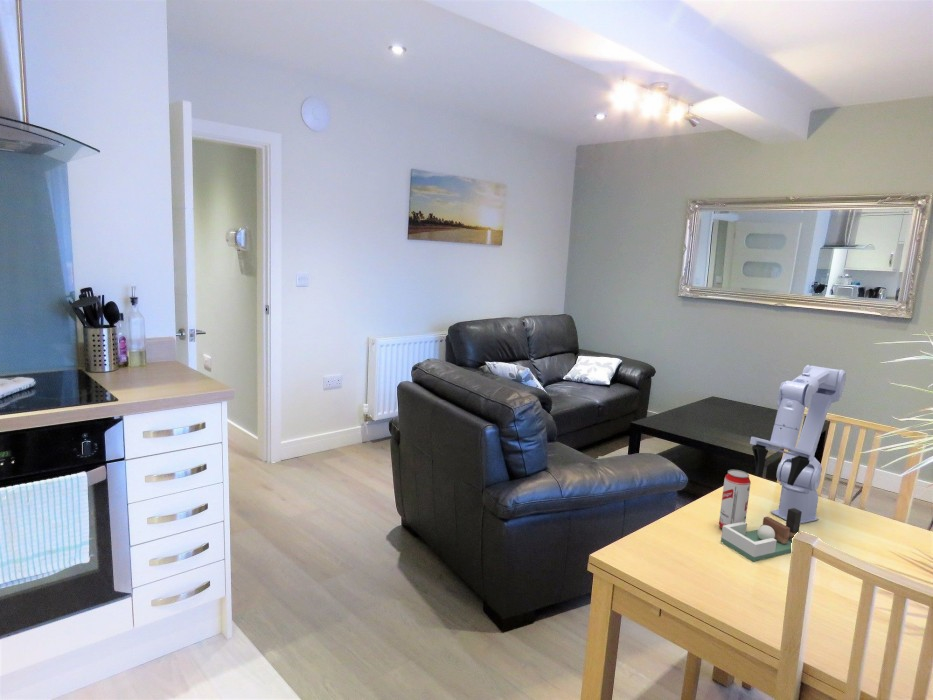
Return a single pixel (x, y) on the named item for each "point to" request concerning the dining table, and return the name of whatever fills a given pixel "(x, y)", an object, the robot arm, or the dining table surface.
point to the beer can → (734, 498)
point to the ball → (765, 532)
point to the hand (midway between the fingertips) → (773, 480)
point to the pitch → (752, 543)
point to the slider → (785, 531)
